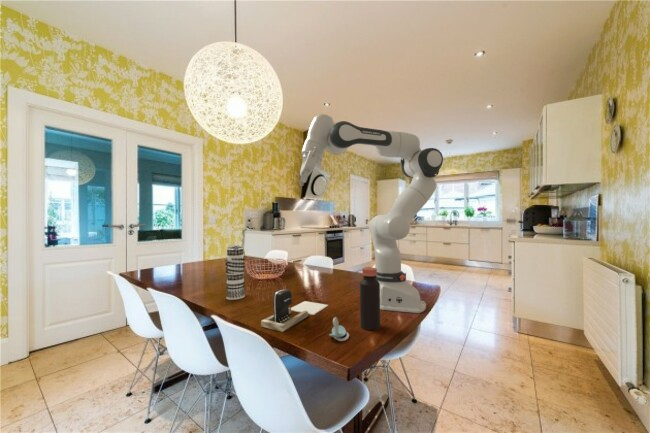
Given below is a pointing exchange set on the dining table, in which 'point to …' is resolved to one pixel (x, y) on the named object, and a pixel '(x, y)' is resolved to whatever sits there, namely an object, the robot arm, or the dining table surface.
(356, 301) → the dining table surface
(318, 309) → the tile pad
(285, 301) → the black upright rounded piece
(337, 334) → the pacifier
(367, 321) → the bottle
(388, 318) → the dining table surface
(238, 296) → the decorative candle
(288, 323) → the beige rectangular frame
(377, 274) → the robot arm
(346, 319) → the dining table surface
